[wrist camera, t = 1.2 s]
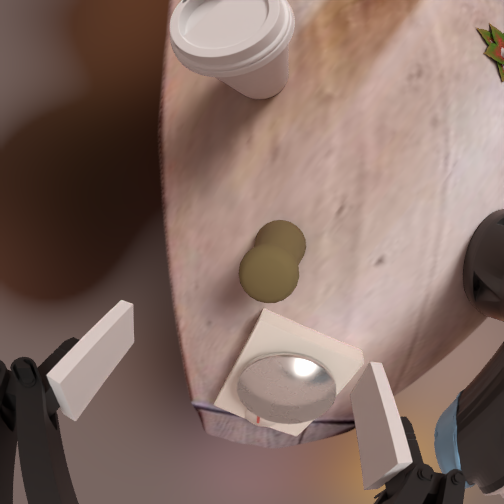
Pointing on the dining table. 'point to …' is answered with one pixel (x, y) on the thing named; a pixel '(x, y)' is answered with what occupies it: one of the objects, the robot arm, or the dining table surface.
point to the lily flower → (494, 46)
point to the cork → (273, 262)
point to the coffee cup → (235, 42)
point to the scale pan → (286, 387)
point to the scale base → (289, 340)
